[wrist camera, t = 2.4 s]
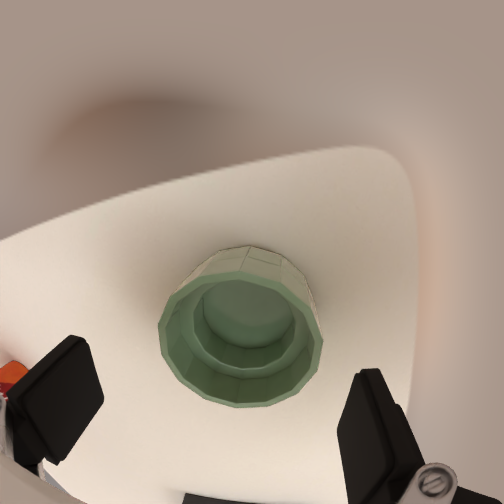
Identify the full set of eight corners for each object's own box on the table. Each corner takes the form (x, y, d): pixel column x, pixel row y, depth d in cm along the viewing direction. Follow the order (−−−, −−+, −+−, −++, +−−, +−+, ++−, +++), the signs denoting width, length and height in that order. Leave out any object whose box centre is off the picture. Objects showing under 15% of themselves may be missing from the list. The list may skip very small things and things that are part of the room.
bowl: (319, 248, 14) (333, 276, 10) (303, 362, 16) (307, 413, 12) (186, 239, 14) (152, 263, 10) (190, 352, 16) (167, 397, 12)
